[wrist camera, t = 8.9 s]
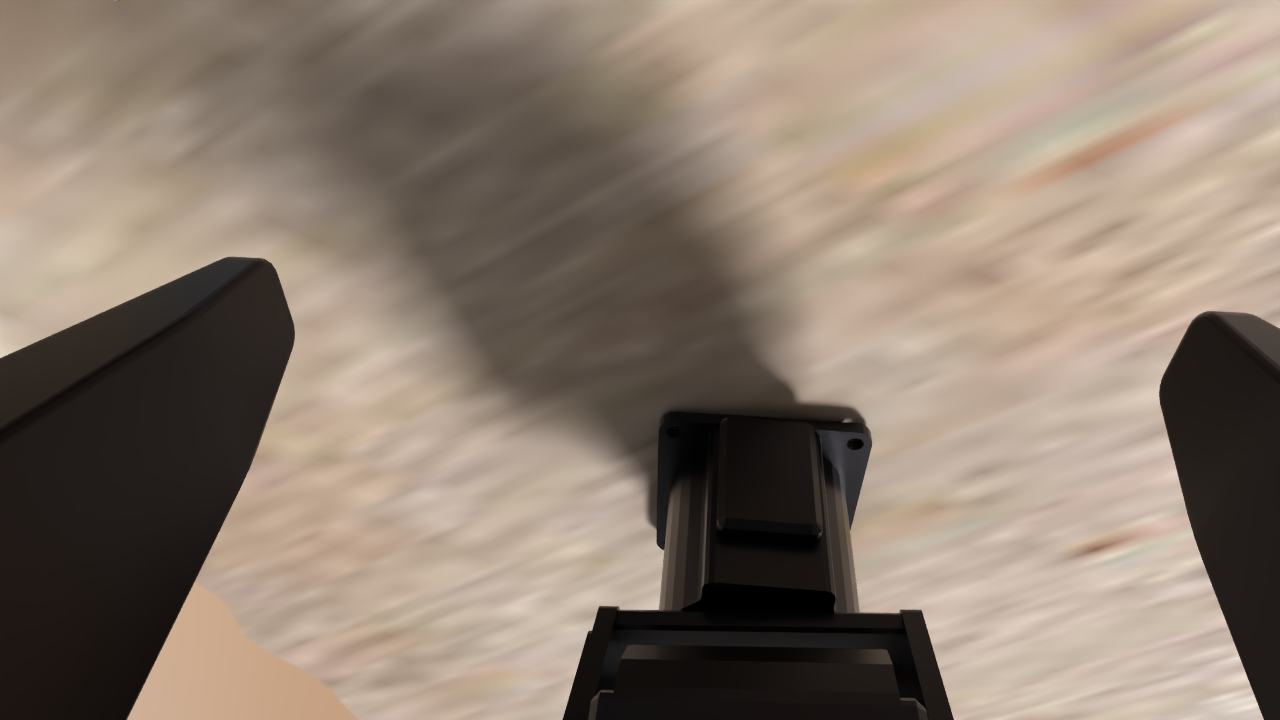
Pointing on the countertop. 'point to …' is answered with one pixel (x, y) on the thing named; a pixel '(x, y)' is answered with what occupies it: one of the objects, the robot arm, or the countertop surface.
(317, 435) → the countertop surface
